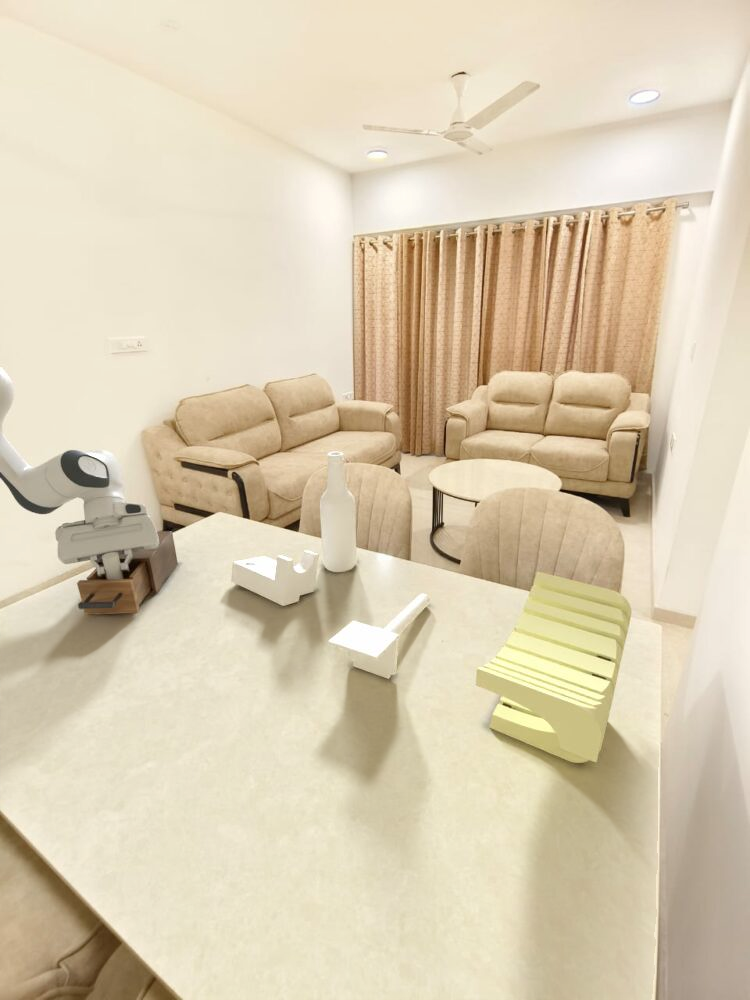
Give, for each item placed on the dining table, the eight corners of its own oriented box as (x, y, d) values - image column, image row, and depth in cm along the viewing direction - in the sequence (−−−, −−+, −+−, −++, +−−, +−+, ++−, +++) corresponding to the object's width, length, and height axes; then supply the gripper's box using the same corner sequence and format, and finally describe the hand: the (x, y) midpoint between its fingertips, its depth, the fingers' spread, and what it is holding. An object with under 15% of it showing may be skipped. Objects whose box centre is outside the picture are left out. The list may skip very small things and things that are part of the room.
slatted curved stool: (584, 821, 65) (606, 715, 59) (469, 766, 73) (476, 668, 66) (617, 681, 89) (635, 595, 82) (527, 652, 97) (537, 571, 90)
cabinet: (156, 594, 118) (149, 558, 114) (102, 595, 118) (94, 559, 114) (178, 564, 131) (172, 531, 128) (129, 565, 131) (122, 532, 128)
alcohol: (351, 574, 125) (347, 459, 114) (318, 571, 127) (311, 457, 116) (360, 558, 133) (358, 449, 122) (329, 555, 135) (323, 447, 124)
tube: (106, 595, 111) (98, 559, 108) (114, 587, 114) (105, 551, 111) (122, 594, 111) (114, 558, 108) (129, 586, 114) (121, 551, 111)
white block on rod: (328, 640, 85) (406, 576, 113) (327, 685, 87) (404, 611, 115) (376, 657, 81) (445, 586, 108) (374, 703, 83) (442, 622, 111)
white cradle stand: (313, 596, 118) (318, 554, 117) (283, 605, 110) (288, 560, 109) (262, 574, 128) (266, 535, 127) (231, 581, 120) (235, 539, 119)
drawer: (127, 626, 105) (120, 594, 102) (72, 627, 104) (63, 595, 102) (160, 580, 122) (155, 552, 119) (113, 582, 122) (106, 553, 119)
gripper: (50, 519, 108) (55, 579, 103) (152, 504, 116) (161, 559, 111) (58, 530, 114) (63, 588, 109) (155, 515, 121) (163, 568, 117)
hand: (113, 573), depth 110 cm, fingers closed on tube, 3 cm apart
